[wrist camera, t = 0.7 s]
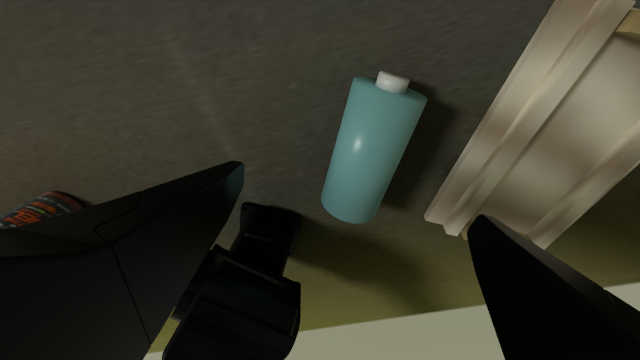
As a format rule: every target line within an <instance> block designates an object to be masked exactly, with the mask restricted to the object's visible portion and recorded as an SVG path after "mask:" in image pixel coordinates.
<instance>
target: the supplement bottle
mask: <svg viewBox="0 0 640 360" xmlns="http://www.w3.org/2000/svg"><path fill="white" fill-rule="evenodd" d="M83 208H84V207H83V206H82V205H81V204H80V203H79V202H77V201H76V200H74V199H73V198H71V197H69V196H66V195H64V194H61V193H58V192H45V193H43V194H41V195H39V196H37V197H35V198H33V199H31V200H29V201H27V202H25V203H23V204H22V205H20V206H18V207H16V208H14V209H12V210H11V211H9V212H7V213H5V214H3V215H1V216H0V229H6V228H11V227H16V226H20V225H24V224H28V223H32V222H35V221H39V220H43V219H46V218H50V217H54V216H57V215H61V214H65V213H68V212H72V211H76V210H79V209H83Z"/></svg>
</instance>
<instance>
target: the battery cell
mask: <svg viewBox="0 0 640 360" xmlns="http://www.w3.org/2000/svg"><path fill="white" fill-rule="evenodd" d="M409 81H410V80H409V79H408V78H405V77H403V76H400V75H397V74H394V73H389V72H384V71H380V72H379V75H378V78H377V79H375V78H369V77H355V78H354V79H353V82H352V86H351V90H350V93H349V97H348V100H347V104H346V108H345V111H344V115H343V119H342V122H341V126H340V130H339V133H338V137H337V140H336V144H335V148H334V151H333V155H332V159H331V162H330V166H329V169H328V173H327V177H326V180H325V184H324V188H323V191H322V195H321V202H322V205H323V206H324V208H325V209H326V210H327V211H328V212H329V213H330V214H331V215H333V216H334V217H336V218H338V219H340V220H342V221H345V222H349V223H356V224H359V223H366V222H368V221H370V220H372V219H373V218H374V216H375V214H376V212H377V210H378V208H379V205H380V203H381V201H382V199H383V197H384V194H385V192H386V190H387V188H388V186H389V184H390V181H391V179H392V177H393V175H394V173H395V171H396V168H397V166H398V164H399V162H400V160H401V157H402V155H403V153H404V151H405V149H406V147H407V144H408V142H409V140H410V138H411V136H412V133H413V131H414V129H415V127H416V125H417V123H418V120H419V118H420V116H421V114H422V112H423V109H424V107H425V105H426V103H427V101H428V100H427V98H426V97H425V96H423V95H422V94H420V93H418V92H416V91H414V90H412V89H409V88H407V86H408V84H409Z"/></svg>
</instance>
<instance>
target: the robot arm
mask: <svg viewBox="0 0 640 360" xmlns="http://www.w3.org/2000/svg"><path fill="white" fill-rule="evenodd" d="M243 184H244V164H243V163H242V162H238V161H229V162H226V163H223V164H220V165H217V166H214V167H211V168H208V169H205V170H202V171H199V172H196V173H193V174H190V175H187V176H184V177H181V178H178V179H175V180H172V181H169V182H166V183H163V184H160V185H157V186H154V187H151V188H148V189H145V190H143V191H139V192H136V193H133V194H130V195H127V196H124V197H121V198H117V199H114V200H111V201H108V202H104V203H101V204H97V205H94V206H90V207H87V208H83V209H79V210H76V211H72V212H68V213H65V214H61V215H57V216H54V217H50V218H46V219H43V220H39V221H35V222H32V223H28V224H24V225H20V226H16V227H11V228H6V229H0V360H143V358H144V356H145V355H146V354H147V352H148V350H149V349H150V347H151V344H152V343H153V342H154V340H155V338H156V337H157V335H158V334H159V332H160V330H161V329H162V327H163V325H164V324H165V322H166V320H167V319H168V317H169V316H170V314H171V312H172V311H173V309H174V307H176V308H175V310H174V312H173V313H172V315H171V317H170V318H172V319H174V320H177V321H179V322H180V323H179V325H178V327H177V329H176V330H175V332H174V334H173V336H172V337H171V339H170V341H169V342H168V344H167V346H166V348H165V350H164V352H163V355H162V360H284V359H285V358H286V357H287V355H288V354H289V353H290V351H291V349H292V347H293V345H294V342H295V340H296V337H297V334H298V330H299V325H300V301H301V283H299V282H296V281H295V282H294V281H292V280H290V279H288V278H286V277H283V272H284V269H285V265H286V262H287V258H288V257H291V256H293V253H294V249H295V244H296V240H297V236H298V231H299V227H300V223H301V216H299V215H297V214H293V213H288V212H284V211H280V210H276V209H272V208H268V207H264V206H260V205H256V204H251V203H247V202H244V203H243V204H242V205H241V214H240V231H239V233H238V235H237V237H236V239H235V240H234V242H233V244H232V246H231V248H230V250H229V251H228V250H226V249H224V248H222V247H221V246H220V245H218V244H215V246H214V247H213V249H212V250H210V248H211V247H212V245H213V243H214V242H215V240H216V239H217V237H218V235H219V234H220V232H221V230H222V229H223V227H224V225H225V224H226V222H227V220H228V218H229V216H230V214H231V212H232V210H233V208H234V205H235V203H236V201H237V199H238V196H239V194H240V192H241V190H242V188H243ZM245 206H246V207H247V208H246V207H245ZM296 219H298V220H296ZM467 238H468V243H469V247H470V252H471V256H472V260H473V265H474V269H475V273H476V276H477V279H478V282H479V285H480V288H481V291H482V293H483V296H484V299H485V302H486V305H487V308H488V311H489V314H490V317H491V319H492V323H493V326H494V328H495V331H496V334H497V337H498V340H499V343H500V346H501V349H502V352H503V354H504V357H505V360H640V311H638V310H637V309H635V308H633V307H632V306H630V305H629V304H627V303H626V302H624V301H622V300H621V299H619V298H618V297H616V296H615V295H613V294H612V293H610V292H609V291H607V290H604V289H603V288H602V287H601V286H599V285H598V284H596V283H595V282H593V281H592V280H590V279H588V278H587V277H585V276H584V275H582V274H581V273H579V272H578V271H576V270H575V269H573V268H571V267H570V266H568V265H567V264H565V263H564V262H562V261H561V260H559V259H558V258H556V257H555V256H553V255H551V254H550V253H548V252H547V251H545V250H544V249H542V248H541V247H539V246H538V245H536V244H534V243H533V242H531V241H530V240H528V239H527V238H525V237H524V236H522V235H521V234H519V233H517V232H516V231H514V230H513V229H511V228H510V227H508V226H507V225H505V224H504V223H502V222H501V221H499V220H497V219H496V218H494V217H493V216H490V215H485V214H479V215H478V216H477V217H476V218H475V220H474V221H473V223H472V224H471V225H470V227H469V228H468V230H467Z"/></svg>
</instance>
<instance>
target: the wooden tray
mask: <svg viewBox="0 0 640 360" xmlns="http://www.w3.org/2000/svg"><path fill="white" fill-rule="evenodd" d="M635 2H636V1H632V0H555V1H554V3H553V4H552V6H551V8H550V9H549V11H548V13H547V14H546V16H545V17H544V19H543V21H542V22H541V24H540V26H539V27H538V29H537V31H536V32H535V34H534V36H533V37H532V39H531V40H530V42H529V44H528V45H527V47H526V49H525V50H524V52H523V54H522V55H521V57H520V58H519V60H518V62H517V63H516V65H515V67H514V68H513V70H512V72H511V73H510V75H509V76H508V78H507V80H506V81H505V83H504V85H503V86H502V88H501V90H500V91H499V93H498V94H497V96H496V98H495V99H494V101H493V103H492V104H491V106H490V108H489V109H488V111H487V113H486V114H485V116H484V117H483V119H482V121H481V122H480V124H479V126H478V127H477V129H476V131H475V132H474V134H473V135H472V137H471V139H470V140H469V142H468V144H467V145H466V147H465V149H464V150H463V152H462V153H461V155H460V157H459V158H458V160H457V162H456V163H455V165H454V167H453V168H452V170H451V171H450V173H449V175H448V176H447V178H446V180H445V181H444V183H443V185H442V186H441V188H440V190H439V191H438V193H437V194H436V196H435V198H434V199H433V201H432V203H431V204H430V206H429V208H428V209H427V211H426V212H425V214H424V217H425V220H426V221H430V222H434V223H438V224H442V225H443V227H444V229H445V231H446V233H447V234H450V235H454V236H458V234H459V233H460V232H461V234H462V236H463V238H464V240H468V238H467V230H468V228H469V227H470V225H471V224H472V223H473V221H474V220H475V218H476V217H477V216H478V215H479V214H485V215H490V216H493V217H494V218H496V219H497V220H499V221H501V222H502V223H504V224H505V225H507V226H508V227H510V228H511V229H513V230H514V231H516V232H517V233H519V234H521V235H522V236H524V237H525V238H527V239H528V240H530V241H531V242H533V243H534V244H536V245H538V246H539V247H541V248H542V249H546V248H547V247H548V246H549V245H550V244H551V243H552V242H553V241H554V240H555V239H557V238H558V237H559V236H560V235H561V234H562V233H563V232H564V231H565V230H567V229H568V228H569V227H570V226H571V225H572V224H573V223H574V222H575V221H576V220H578V219H579V218H580V217H581V216H582V215H583V214H584V213H585V212H586V211H587V210H589V209H590V208H591V207H592V206H593V205H594V204H595V203H596V202H597V201H598V200H600V199H601V198H602V197H603V196H604V195H605V194H606V193H607V192H608V191H610V190H611V189H612V188H613V187H614V186H615V185H616V184H617V183H618V182H619V181H621V180H622V179H623V178H624V177H625V176H626V175H627V174H628V173H629V172H630V171H632V170H633V169H634V168H635V167H636V166H637V165H638V164H639V163H640V9H636V8H633V7H632V6H633V5H634V4H635Z"/></svg>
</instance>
